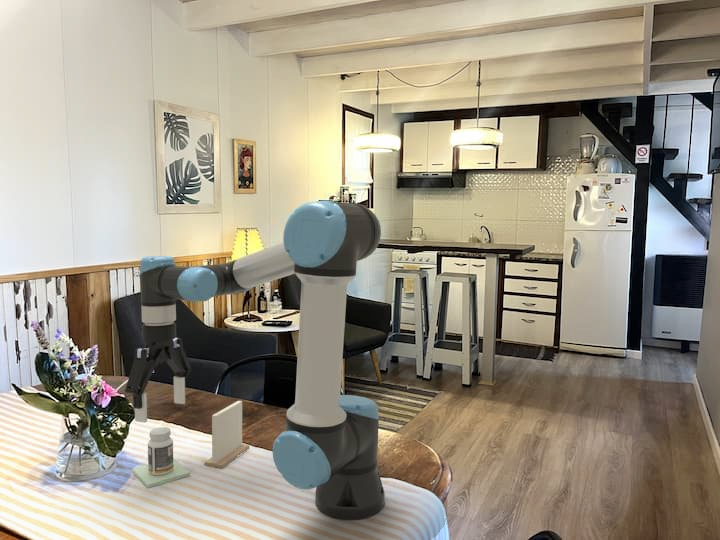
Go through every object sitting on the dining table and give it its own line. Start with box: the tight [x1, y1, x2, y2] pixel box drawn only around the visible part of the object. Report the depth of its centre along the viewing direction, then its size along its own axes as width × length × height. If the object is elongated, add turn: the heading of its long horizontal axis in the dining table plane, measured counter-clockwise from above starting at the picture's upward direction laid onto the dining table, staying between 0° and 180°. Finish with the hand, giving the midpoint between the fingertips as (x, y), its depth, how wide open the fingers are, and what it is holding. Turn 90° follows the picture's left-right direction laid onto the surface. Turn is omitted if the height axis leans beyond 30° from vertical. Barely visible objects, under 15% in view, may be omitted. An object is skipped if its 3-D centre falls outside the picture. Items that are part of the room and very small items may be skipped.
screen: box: [203, 400, 250, 469], centre depth 142 cm, size 13×5×13 cm, turn 161°
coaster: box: [131, 457, 191, 489], centre depth 133 cm, size 10×10×1 cm
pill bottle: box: [147, 426, 174, 475], centre depth 132 cm, size 6×6×10 cm
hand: (161, 412), depth 131 cm, fingers open, 13 cm apart
